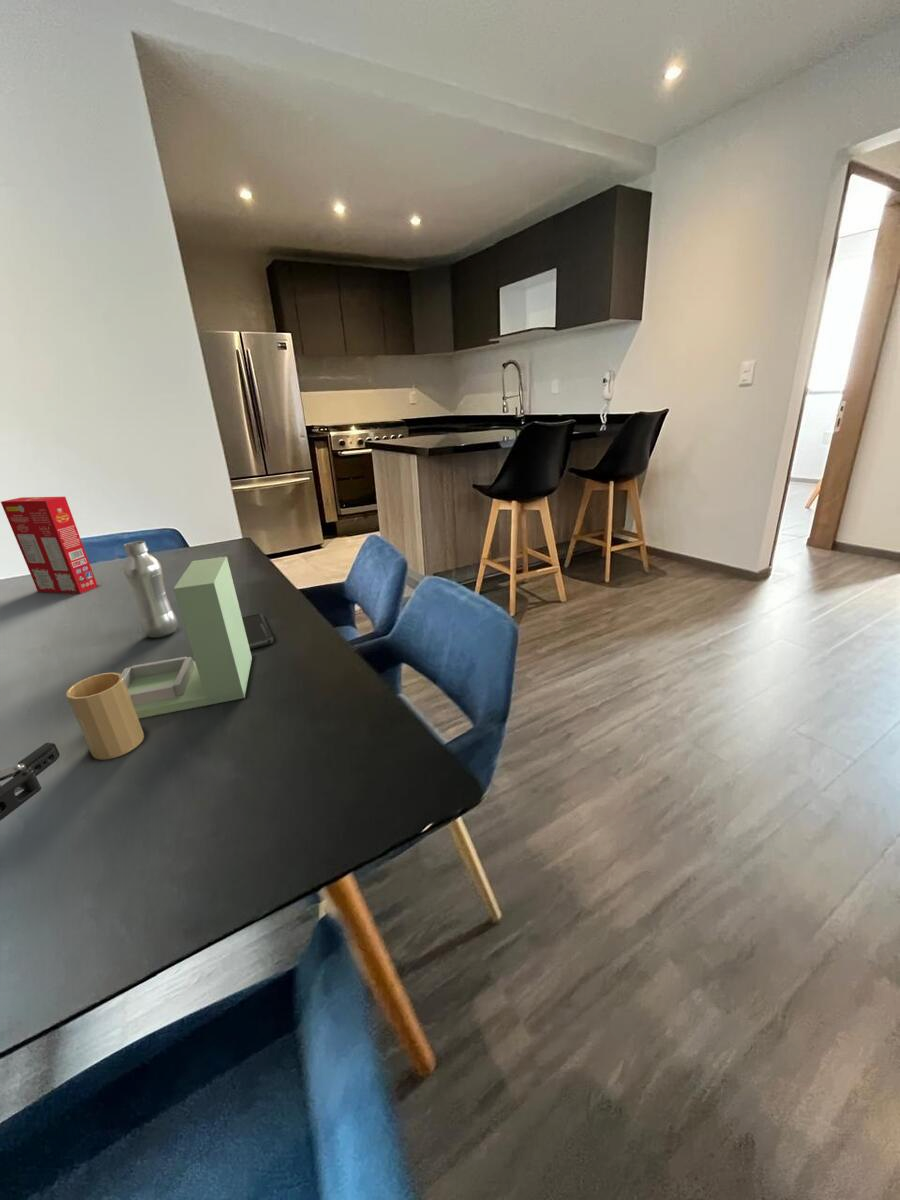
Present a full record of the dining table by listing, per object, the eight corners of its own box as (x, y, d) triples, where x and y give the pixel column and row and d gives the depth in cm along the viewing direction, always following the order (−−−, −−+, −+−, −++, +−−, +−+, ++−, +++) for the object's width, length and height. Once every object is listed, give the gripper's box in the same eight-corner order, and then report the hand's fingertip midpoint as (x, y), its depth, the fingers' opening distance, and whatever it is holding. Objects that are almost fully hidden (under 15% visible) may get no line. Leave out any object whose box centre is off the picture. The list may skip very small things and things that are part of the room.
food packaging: (97, 586, 136) (65, 496, 127) (80, 593, 132) (45, 500, 122) (56, 585, 140) (21, 497, 130) (38, 592, 135) (0, 501, 125)
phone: (231, 649, 93) (223, 621, 105) (232, 654, 94) (224, 626, 106) (273, 638, 96) (261, 612, 109) (275, 643, 97) (262, 617, 109)
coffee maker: (102, 726, 75) (53, 605, 67) (130, 679, 87) (92, 574, 79) (244, 698, 79) (214, 582, 72) (252, 658, 92) (226, 556, 84)
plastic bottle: (139, 637, 104) (108, 546, 96) (171, 624, 109) (144, 537, 101) (154, 644, 100) (123, 550, 92) (186, 631, 105) (159, 540, 97)
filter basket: (84, 764, 67) (57, 703, 63) (101, 735, 72) (77, 677, 69) (136, 753, 68) (113, 692, 64) (149, 726, 74) (128, 668, 70)
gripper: (-111, 846, 40) (64, 722, 54) (-243, 831, 42) (-41, 717, 57) (-68, 909, 43) (87, 775, 57) (-193, 892, 45) (-14, 768, 60)
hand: (23, 746), depth 57 cm, fingers open, 8 cm apart
